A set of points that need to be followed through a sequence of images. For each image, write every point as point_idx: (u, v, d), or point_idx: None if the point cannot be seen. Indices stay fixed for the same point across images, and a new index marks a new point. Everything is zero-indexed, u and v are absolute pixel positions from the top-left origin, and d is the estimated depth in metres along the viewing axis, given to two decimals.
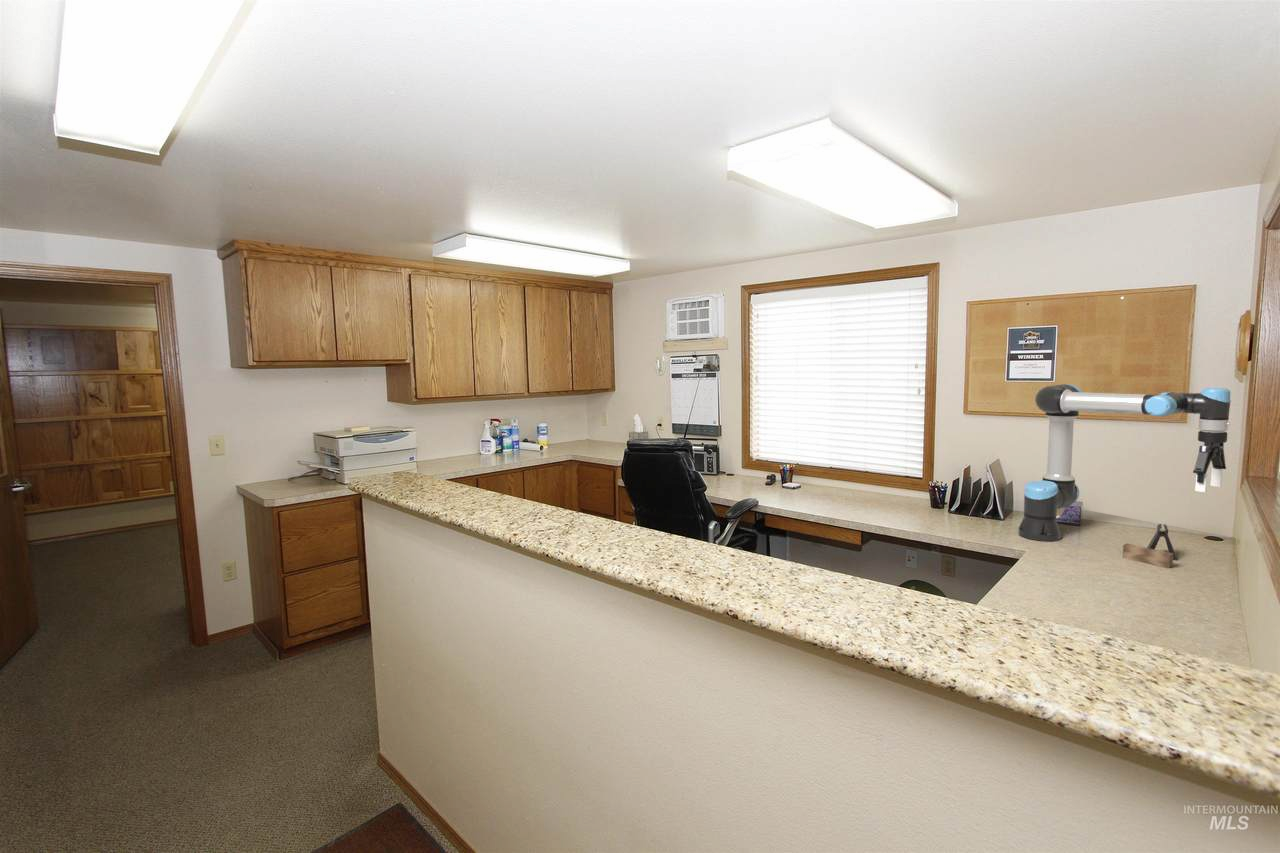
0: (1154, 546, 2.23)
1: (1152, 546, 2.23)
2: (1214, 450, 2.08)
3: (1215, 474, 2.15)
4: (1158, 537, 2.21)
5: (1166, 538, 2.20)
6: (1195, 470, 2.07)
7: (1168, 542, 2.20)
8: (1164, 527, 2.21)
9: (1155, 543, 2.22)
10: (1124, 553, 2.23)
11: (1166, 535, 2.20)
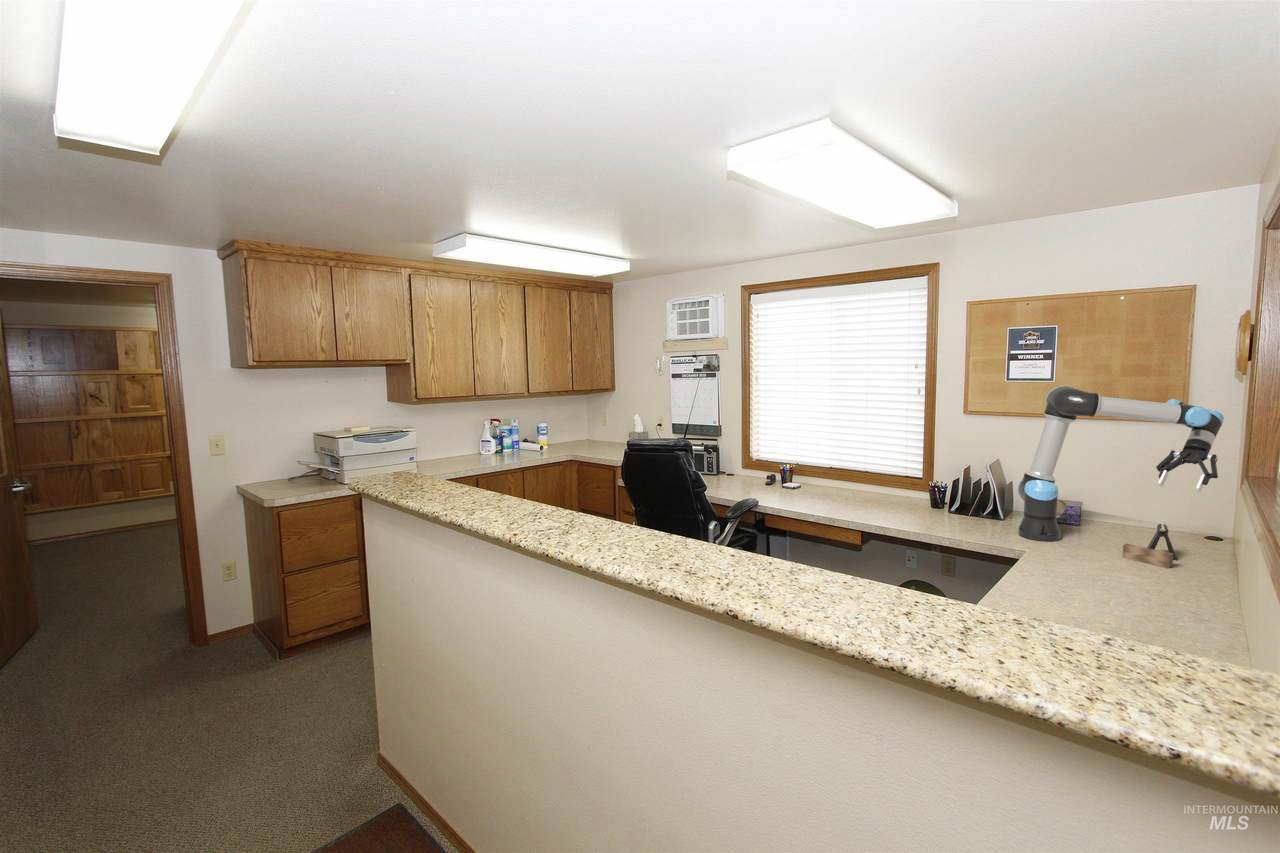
0: (1154, 546, 2.23)
1: (1152, 546, 2.23)
2: None
3: (1165, 476, 2.32)
4: (1158, 537, 2.21)
5: (1166, 538, 2.20)
6: (1216, 474, 2.20)
7: (1168, 542, 2.20)
8: (1164, 527, 2.21)
9: (1155, 543, 2.22)
10: (1124, 553, 2.23)
11: (1166, 535, 2.20)
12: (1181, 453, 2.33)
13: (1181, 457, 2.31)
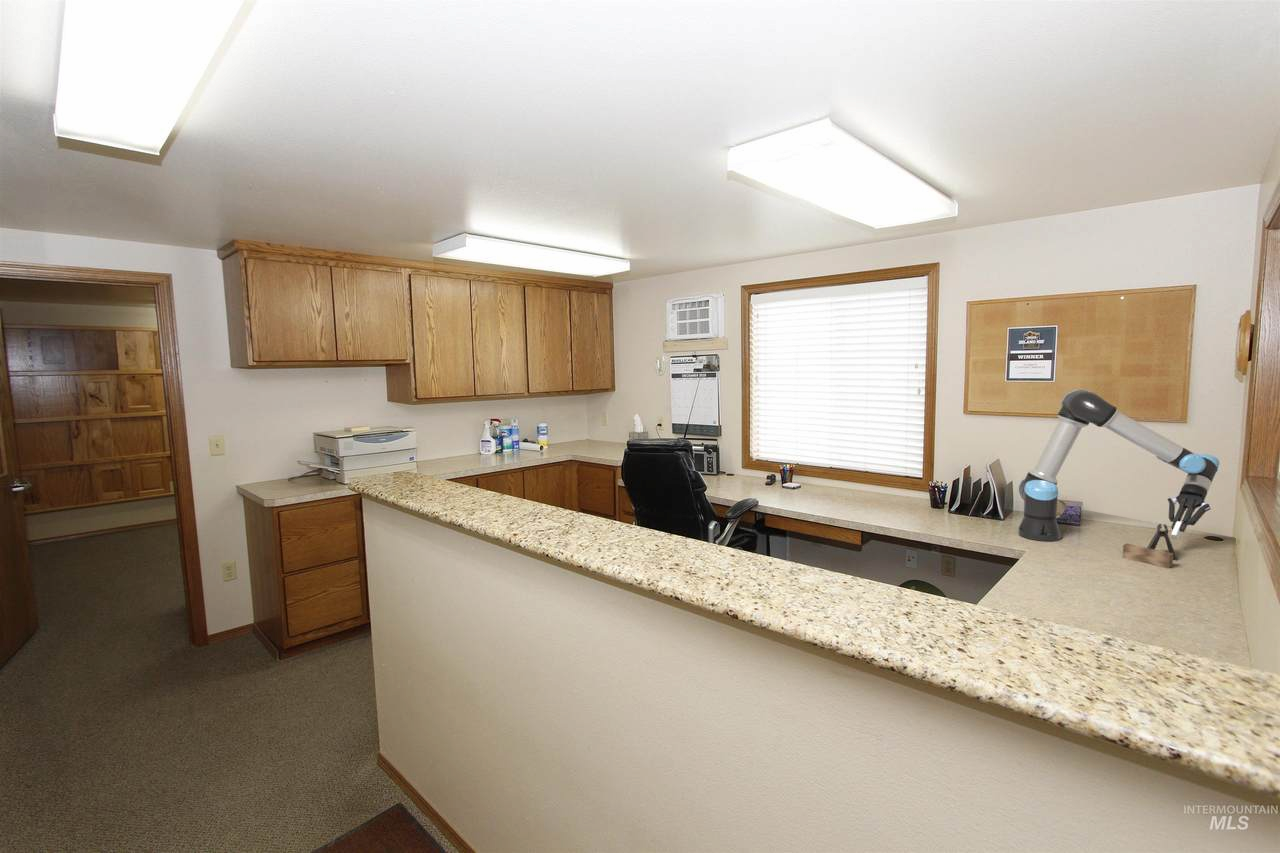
0: (1154, 546, 2.23)
1: (1152, 546, 2.23)
2: None
3: None
4: (1158, 537, 2.21)
5: (1166, 538, 2.20)
6: (1192, 522, 2.26)
7: (1168, 542, 2.20)
8: (1164, 527, 2.21)
9: (1155, 543, 2.22)
10: (1124, 553, 2.23)
11: (1166, 535, 2.20)
12: (1179, 498, 2.34)
13: (1182, 503, 2.31)
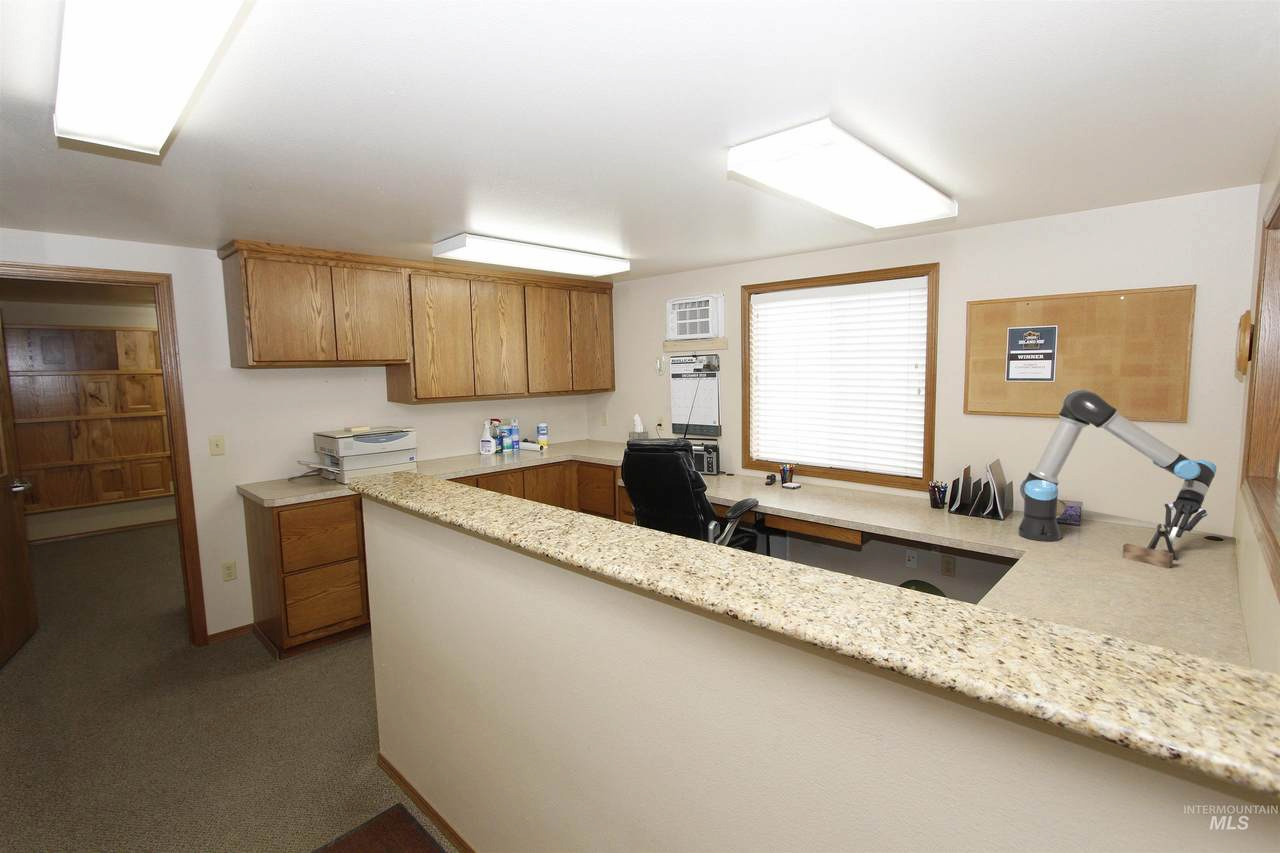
0: (1154, 546, 2.23)
1: (1152, 546, 2.23)
2: None
3: None
4: (1158, 537, 2.21)
5: (1166, 538, 2.20)
6: (1189, 527, 2.25)
7: (1168, 542, 2.20)
8: (1164, 527, 2.21)
9: (1155, 543, 2.22)
10: (1124, 553, 2.23)
11: (1166, 535, 2.20)
12: (1175, 504, 2.33)
13: (1179, 509, 2.31)
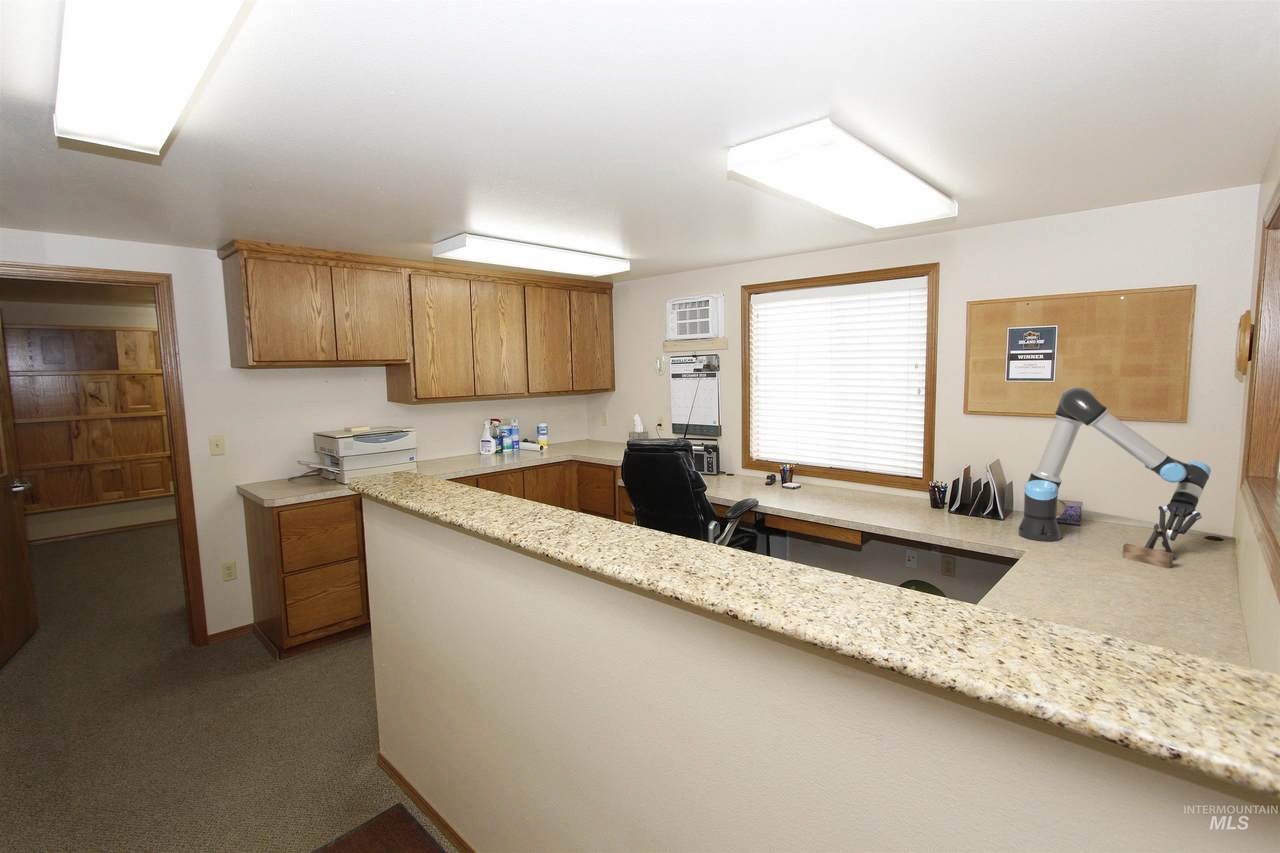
0: (1152, 546, 2.22)
1: (1150, 546, 2.23)
2: None
3: None
4: (1156, 537, 2.21)
5: (1164, 538, 2.20)
6: (1183, 530, 2.22)
7: (1166, 542, 2.20)
8: (1162, 527, 2.21)
9: (1153, 543, 2.22)
10: (1124, 553, 2.23)
11: (1164, 535, 2.20)
12: (1169, 506, 2.30)
13: (1173, 512, 2.28)
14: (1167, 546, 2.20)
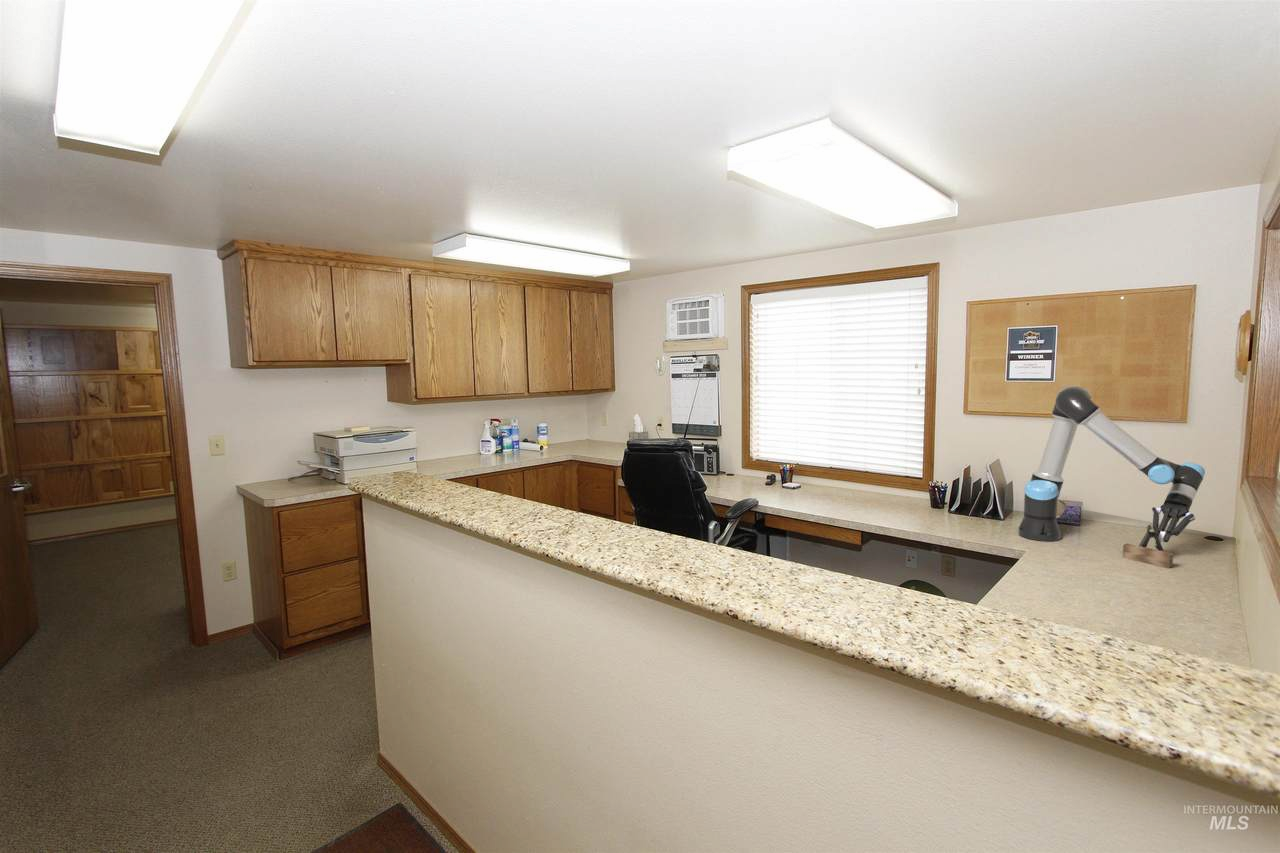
0: None
1: None
2: None
3: None
4: (1148, 538, 2.21)
5: (1156, 539, 2.19)
6: (1176, 532, 2.20)
7: (1158, 543, 2.19)
8: (1154, 528, 2.20)
9: (1145, 544, 2.22)
10: (1124, 553, 2.23)
11: (1156, 536, 2.19)
12: (1163, 508, 2.29)
13: (1166, 513, 2.26)
14: (1159, 547, 2.19)
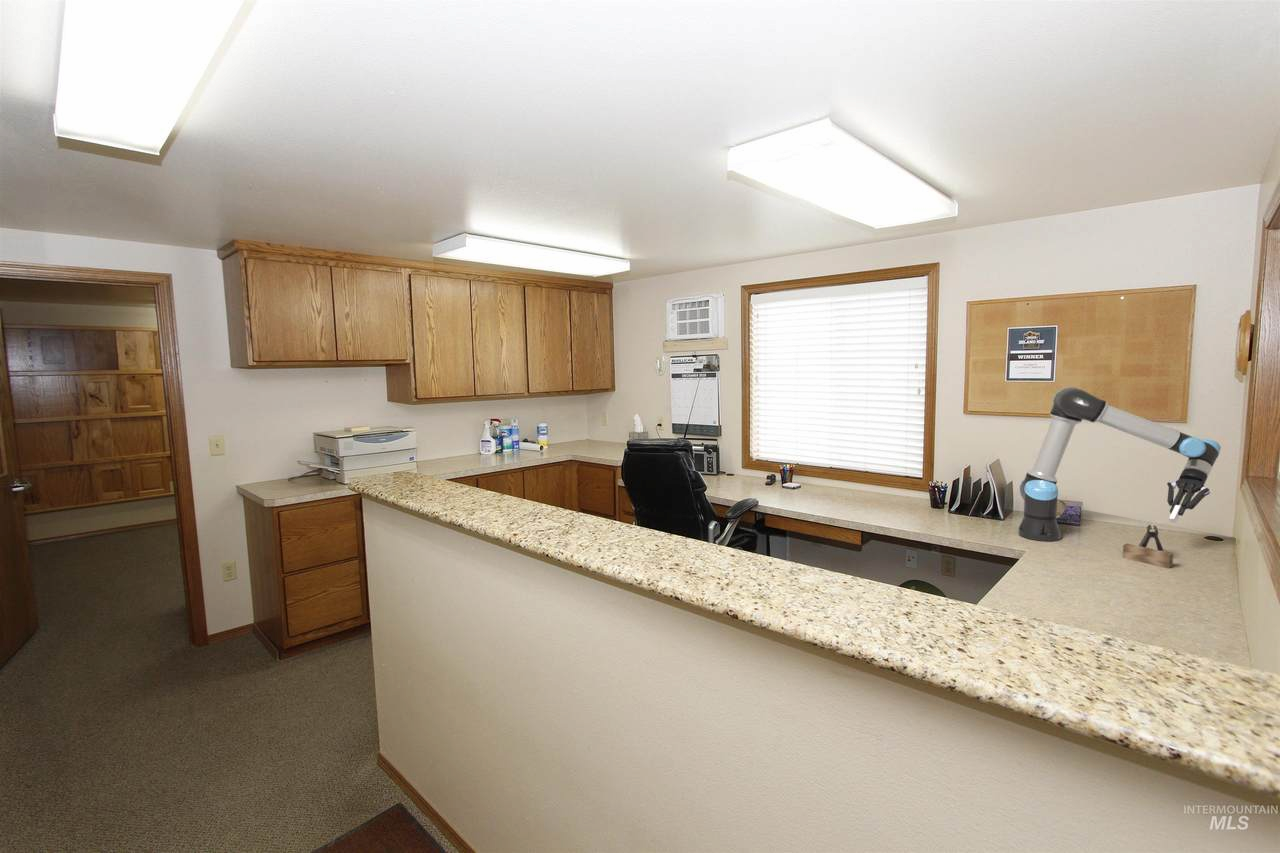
0: None
1: None
2: None
3: None
4: (1148, 538, 2.21)
5: (1156, 539, 2.19)
6: (1191, 505, 2.25)
7: (1158, 543, 2.19)
8: (1154, 528, 2.20)
9: (1145, 544, 2.22)
10: (1124, 553, 2.23)
11: (1156, 536, 2.19)
12: (1178, 482, 2.33)
13: (1181, 488, 2.30)
14: (1159, 547, 2.19)
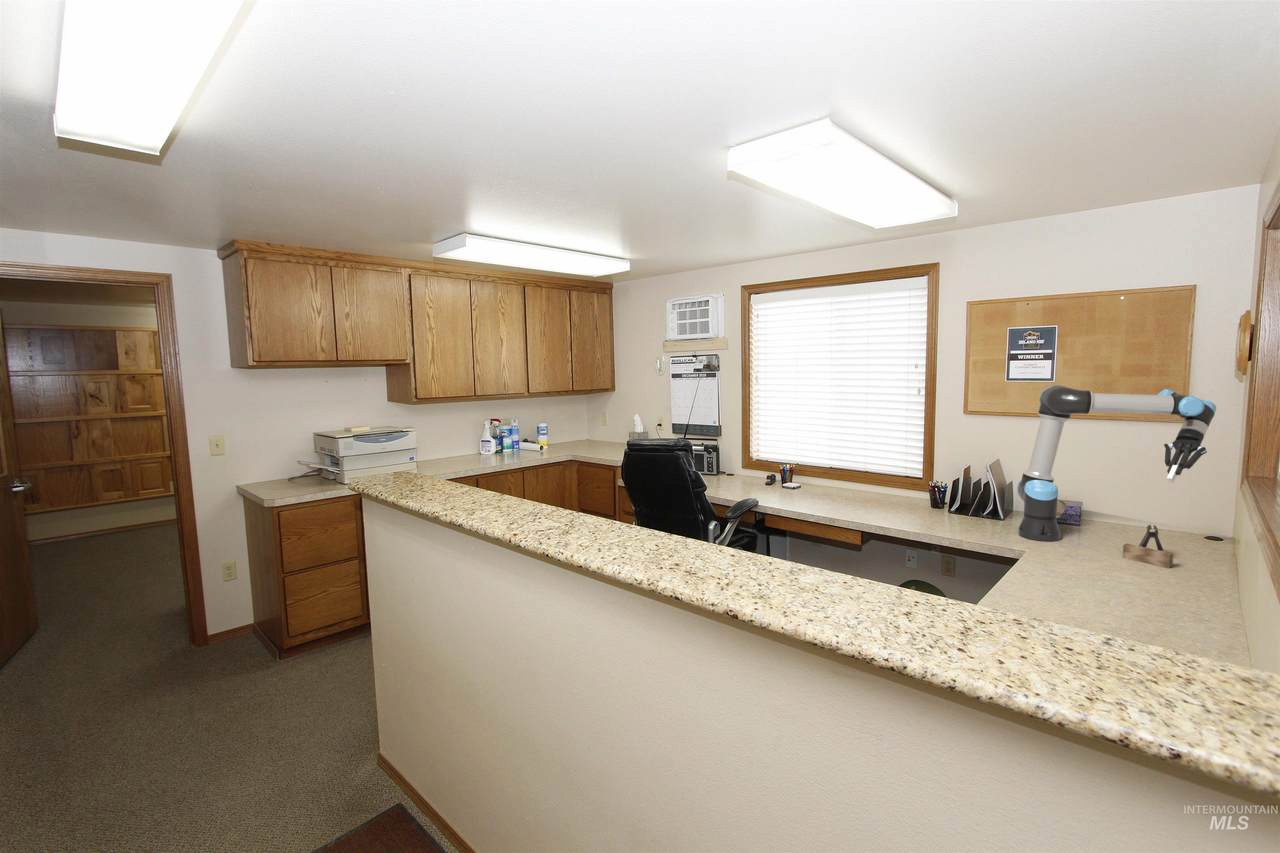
0: None
1: None
2: None
3: None
4: (1148, 538, 2.21)
5: (1156, 539, 2.19)
6: (1188, 465, 2.25)
7: (1158, 543, 2.19)
8: (1154, 528, 2.20)
9: (1145, 544, 2.22)
10: (1124, 553, 2.23)
11: (1156, 536, 2.19)
12: (1175, 443, 2.33)
13: (1178, 448, 2.31)
14: (1159, 547, 2.19)
